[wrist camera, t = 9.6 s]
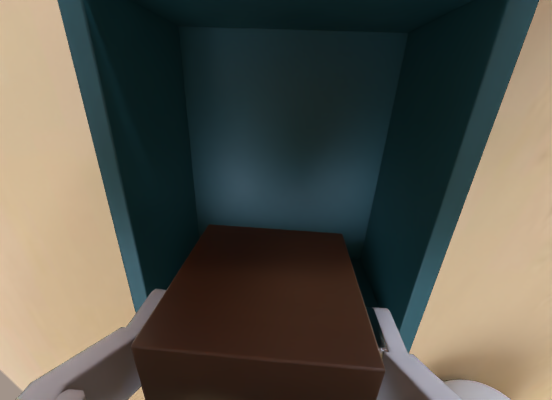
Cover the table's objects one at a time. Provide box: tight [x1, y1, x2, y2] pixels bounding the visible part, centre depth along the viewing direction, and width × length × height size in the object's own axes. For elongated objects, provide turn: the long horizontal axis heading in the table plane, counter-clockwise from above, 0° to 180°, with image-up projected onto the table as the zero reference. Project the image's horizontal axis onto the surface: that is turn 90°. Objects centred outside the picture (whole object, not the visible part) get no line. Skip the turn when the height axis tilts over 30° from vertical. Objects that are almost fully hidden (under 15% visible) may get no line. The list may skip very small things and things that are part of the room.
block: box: [131, 224, 385, 400], centre depth 8 cm, size 5×5×5 cm
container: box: [58, 0, 539, 354], centre depth 13 cm, size 16×14×8 cm
